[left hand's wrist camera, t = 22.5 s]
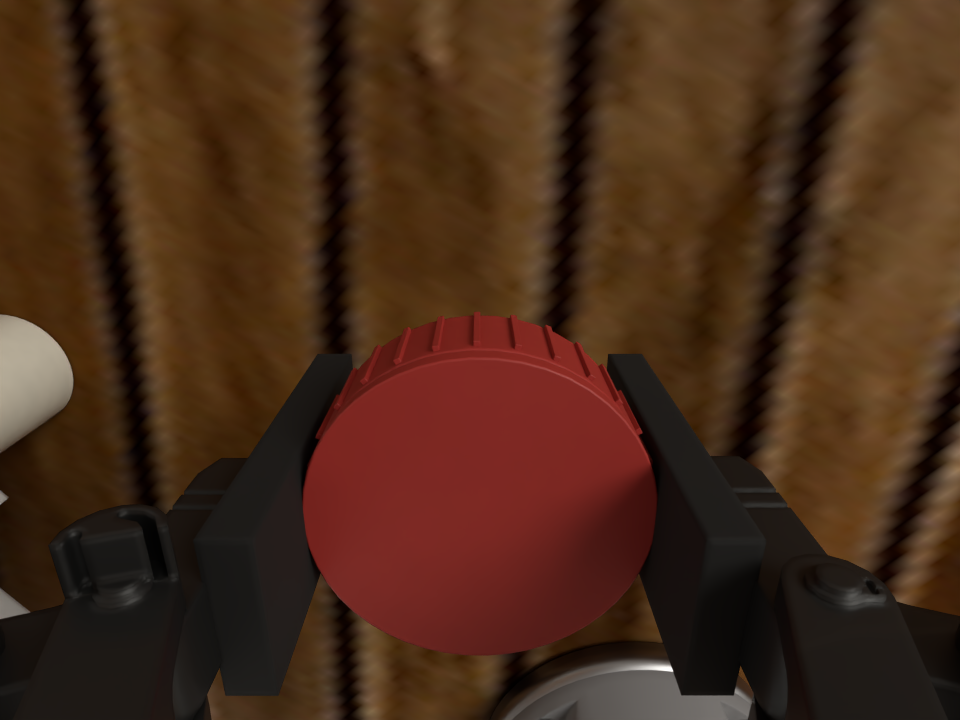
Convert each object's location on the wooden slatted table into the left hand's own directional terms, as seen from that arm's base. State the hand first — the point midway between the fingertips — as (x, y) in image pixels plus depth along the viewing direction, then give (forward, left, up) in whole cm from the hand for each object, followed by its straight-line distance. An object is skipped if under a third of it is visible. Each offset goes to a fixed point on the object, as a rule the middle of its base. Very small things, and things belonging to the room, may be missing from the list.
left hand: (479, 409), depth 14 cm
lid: (0, 0, +4) cm, 4 cm away
